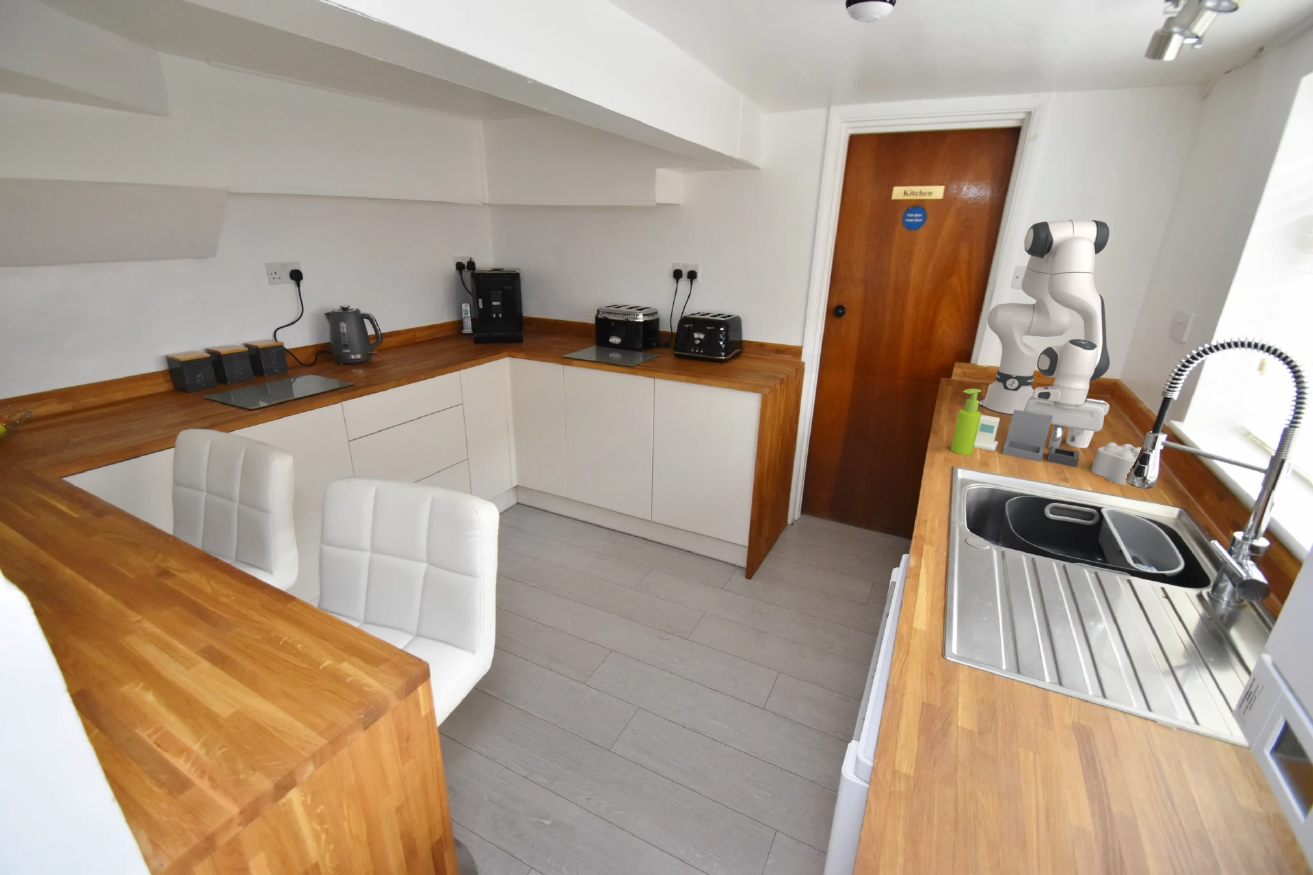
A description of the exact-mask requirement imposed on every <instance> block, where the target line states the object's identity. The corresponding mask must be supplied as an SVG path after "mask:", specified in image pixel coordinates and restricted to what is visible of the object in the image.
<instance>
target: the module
mask: <svg viewBox="0 0 1313 875" xmlns="http://www.w3.org/2000/svg"><path fill="white" fill-rule="evenodd" d="M1000 420H1001V417H996V416H990V415H986V414H981V418H980V423H979V427H978V431H977V436H976V440H975V444H980V445H985V446H990V447H992V446H993V444H994V441H996V436H997V432H998V428H999V425H1000V424H999V423H1000Z"/></svg>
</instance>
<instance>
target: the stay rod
mask: <svg viewBox="0 0 1313 875" xmlns="http://www.w3.org/2000/svg"><path fill="white" fill-rule="evenodd" d="M1065 429H1066V426H1060V425H1055V424H1053V428H1052V432H1051V435H1050V439H1049V441H1048V446H1047V449H1049V450H1050V447H1056V448H1060V446H1061V442H1062V438H1063V435H1064V433H1065Z"/></svg>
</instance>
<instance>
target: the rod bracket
mask: <svg viewBox="0 0 1313 875" xmlns="http://www.w3.org/2000/svg"><path fill="white" fill-rule="evenodd" d="M1079 460H1080V452H1079V451H1075V450H1070V449H1065V448H1061V447H1059V448H1056V447H1050V449H1049V451H1048V454H1047V462H1050V463H1054V464H1059V465H1065V466H1069V467H1074V468H1077V466H1078V463H1079Z"/></svg>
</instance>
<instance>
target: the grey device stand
mask: <svg viewBox="0 0 1313 875" xmlns="http://www.w3.org/2000/svg"><path fill="white" fill-rule="evenodd" d="M1052 417H1053V416H1051V415H1045V414H1039V413H1033V412H1027V411H1021V410H1015V409H1014V412H1013V414H1012V416H1011V420H1010V424H1009V428H1008V432H1007V436H1006V440H1005V441H1004V445H1003V449H1002V452H1001V454H1002V455H1008V456H1013V457H1017V458H1021V459H1026V460H1031V461H1036V462H1042V460H1043V456H1044V452H1045V451H1044V450H1045V445H1046V442H1047V438H1048V435H1049V431H1050V429H1051V428H1050V427H1051V425H1052V424H1051V421H1052Z"/></svg>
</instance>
